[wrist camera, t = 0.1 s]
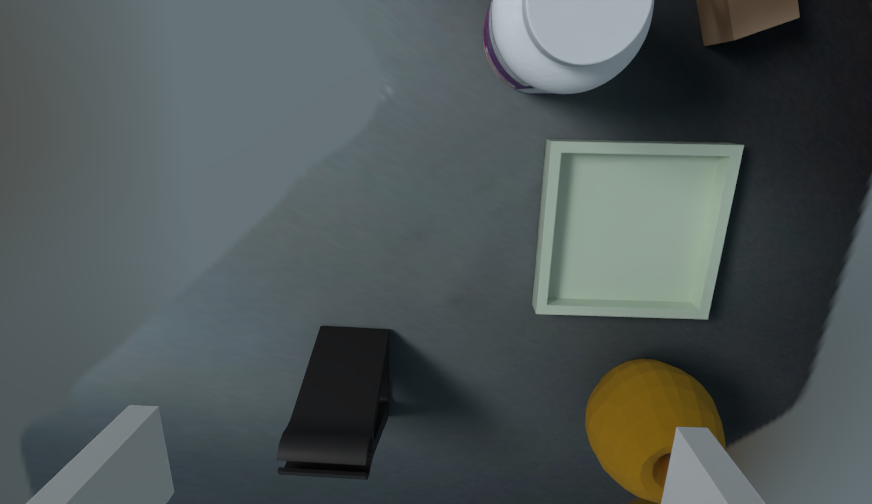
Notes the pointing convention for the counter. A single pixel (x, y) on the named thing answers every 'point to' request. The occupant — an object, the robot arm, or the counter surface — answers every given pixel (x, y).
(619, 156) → the tray
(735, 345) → the counter surface
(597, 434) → the apple
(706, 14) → the walnut block
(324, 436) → the phone stand
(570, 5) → the pill bottle
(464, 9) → the counter surface
